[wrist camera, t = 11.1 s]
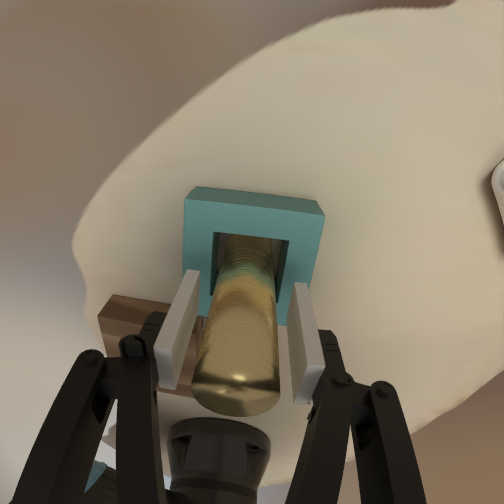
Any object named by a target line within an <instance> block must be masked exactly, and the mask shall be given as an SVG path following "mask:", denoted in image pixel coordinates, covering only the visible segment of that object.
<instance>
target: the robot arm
mask: <svg viewBox="0 0 504 504" xmlns="http://www.w3.org/2000/svg"><path fill="white" fill-rule="evenodd" d="M199 289H200V271H197V270H189V269H187V271H186V273H185V275H184V278H183V280H182V282H181V284H180V286H179V289H178V291H177V293H176V295H175V298H174V300H173V302H172V304H171V307H170V309H169V311H168V313H164V312H158V311H154V312H152V313H151V314H150V315H148V316H147V318H146V320H145V322H144V324H143V326H142V329H141V330H140V332H139V334H138V335H137V334H132V335H127V336H125V337H123V338H122V339H121V340H120V341H119V344H118V346H119V350H120V355H121V356H120V357H106V358H105V357H104V355H103V354H102V353H101V352H100V351H98V350H92V349H90V350H86V351H84V352H82V353H81V354H80V355H79V356H78V357H77V359H76V361H75V363H74V365H73V366H72V368H71V370H70V372H69V374H68V376H67V378H66V379H65V381H64V383H63V385H62V387H61V389H60V391H59V393H58V395H57V397H56V398H55V400H54V402H53V404H52V406H51V409H50V411H49V413H48V415H47V417H46V419H45V421H44V423H43V425H42V427H41V429H40V432H39V434H38V436H37V438H36V441H35V443H34V445H33V447H32V450H31V452H30V454H29V457H28V459H27V462H26V464H25V467H24V469H23V472H22V474H21V477H20V480H19V482H18V485H17V488H16V491H15V493H14V496H13V499H12V501H11V502H10V503H9V504H257V489H258V486H259V484H260V481H261V479H262V477H263V474H264V472H265V469H266V467H267V464H268V462H269V459H270V441H269V439H268V437H267V436H266V435H265V434H263V433H262V432H260V431H259V430H257V429H255V428H253V427H250V426H248V425H245V424H241V423H238V422H233V421H228V420H221V419H209V418H201V419H190V420H185V421H182V422H179V423H177V424H175V425H174V426H173V427H172V428H171V429H170V432H169V436H168V440H167V450H168V457H169V463H170V470H171V476H172V480H171V486H170V490H167V489H165V486H164V478H163V469H162V460H161V449H160V437H159V423H158V406H157V391H156V387H157V384H158V381H159V387H160V388H165V389H170V390H176V386H177V382H178V379H179V375H180V372H181V368H182V365H183V361H184V358H185V354H186V351H187V347H188V344H189V341H190V337H191V334H192V330H193V327H194V324H195V320H196V317H197V314H198V310H199ZM286 322H287V333H288V344H289V355H290V366H291V378H292V390H293V402H294V403H296V404H310V401H311V399H312V398H313V407H312V409H311V411H310V413H309V415H308V418H307V419H308V424H307V428H306V432H305V436H304V440H303V444H302V448H301V451H300V455H299V459H298V462H297V466H296V469H295V472H294V476H293V479H292V482H291V486H290V489H289V492H288V495H287V498H286V502H285V504H337V501H338V496H339V492H340V486H341V481H342V476H343V470H344V464H345V458H346V451H347V444H348V437H349V429H350V425H351V432H352V438H353V444H354V451H355V458H356V465H357V471H358V480H359V488H360V495H361V504H427V503H426V498H425V494H424V489H423V485H422V480H421V476H420V473H419V468H418V464H417V460H416V456H415V453H414V449H413V445H412V442H411V438H410V434H409V431H408V427H407V424H406V421H405V417H404V414H403V411H402V408H401V405H400V402H399V398H398V395H397V392H396V390H395V388H394V387H393V386H392V385H391V384H390V383H388V382H385V381H376V382H374V383H373V384H372V385H371V386H367V385H363V384H359V383H356V382H355V381H354V380H353V378H352V377H351V375H349V374H348V373H347V372H346V371H345V367H344V363H343V360H342V356H341V352H340V349H339V346H338V342H337V338H336V336H335V335H334V334H333V333H332V331H331V330H318V329H317V324H316V320H315V315H314V311H313V307H312V302H311V298H310V294H309V289H308V285H307V283H300V282H294V286H293V290H292V295H291V300H290V304H289V308H288V313H287V317H286ZM115 399H118V403H117V423H116V470H115V469H113V468H110V467H108V466H107V464H105V463H103V462H98V461H95V460H94V459H95V456H96V453H97V449H98V446H99V443H100V440H101V438H102V435H103V432H104V429H105V426H106V423H107V420H108V418H109V415H110V412H111V409H112V406H113V404H114V401H115Z"/></svg>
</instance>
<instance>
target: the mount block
mask: <svg viewBox="0 0 504 504" xmlns="http://www.w3.org/2000/svg"><path fill="white" fill-rule="evenodd" d="M170 307H171V304H165V303H159V302H152V301H146V300H140V299H135V298H129V297H123V296H118V295H112V296H111V297H110V299H109V300H108V302H107V303H106V304H105V306H104V307H103V309H102V310H101V311H100V313H99V314H98V321H99V325H100V329H101V334H102V338H103V341H104V345H105V349H106V353H107V356H108V357H120V356H121V355H120V350H119V346H118V344H119V341H120V340H121V339H122V338H123V337H125V336H127V335H132V334H137V335H138V334H139V332H140V330H141V329H142V326H143V324H144V322H145V320H146V318H147V316H148V315H150V314H151V313H152V312H154V311H158V312H164V313H168V311H169V309H170ZM202 324H203V316H199V315H197V317H196V320H195V324H194V327H193V330H192V334H191V337H190V341H189V344H188V347H187V351H186V354H185V358H184V361H183V365H182V368H181V372H180V375H179V379H178V382H177V386H176V390H170V389H165V388H160V387H159V381H158V384H157V387H156V391H160V392H165V393H170V394H175V395H181V396H186V397H192V398H194V396H193V394H192V392H191V382H192V378H193V374H194V370H195V365H196V361H197V357H198V353H199V349H200V345H201V341H202Z"/></svg>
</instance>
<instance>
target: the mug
mask: <svg viewBox="0 0 504 504" xmlns="http://www.w3.org/2000/svg"><path fill="white" fill-rule="evenodd" d="M491 182H492V188H493V191H494V194H495V197H496V200H497V203H498V206H499V210H500V213H501V217H502V220H503V224H504V160H503V161H501V162H500V163H499V164H498V166H497V167H496V168H495V170H494V172H493V175H492V181H491Z"/></svg>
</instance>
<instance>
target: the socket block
mask: <svg viewBox="0 0 504 504" xmlns="http://www.w3.org/2000/svg"><path fill="white" fill-rule="evenodd" d="M324 220H325V215H324V213H323V211H322V210H321V208H320V207H319V205H318V203H317V202H316V201H312V200H305V199H298V198H291V197H284V196H276V195H269V194H260V193H252V192H244V191H235V190H225V189H216V188H205V187H195V188H194V189H193V190H192V192H191V193H190V194H189V195H188V196H187V197H186V198H185V202H184V231H183V278H184V275H185V273H186V271H187V269H189V270H197V271H200V289H199V310H198V314H197V315H199V316H206V317H208V313H209V309H210V305H211V302H212V298H213V294H214V290H215V286H216V282H217V279H218V275H219V272H216V267H217V252H218V239H219V232H222V233H231V234H239V235H248V236H256V237H265V238H273V239H281V240H283V243H282V249H281V254H280V260H279V266H278V272H277V277H276V279H274V283H275V300H276V317H277V325H287V322H286V317H287V313H288V308H289V304H290V300H291V295H292V290H293V286H294V282H300V283H307V285H308V289H309V286H310V282H311V278H312V274H313V269H314V265H315V261H316V256H317V252H318V247H319V243H320V238H321V234H322V229H323V224H324Z"/></svg>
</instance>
